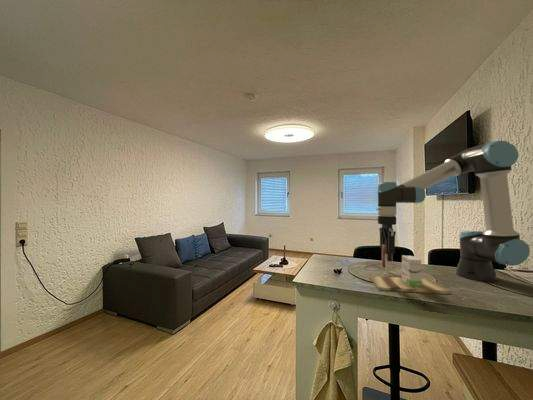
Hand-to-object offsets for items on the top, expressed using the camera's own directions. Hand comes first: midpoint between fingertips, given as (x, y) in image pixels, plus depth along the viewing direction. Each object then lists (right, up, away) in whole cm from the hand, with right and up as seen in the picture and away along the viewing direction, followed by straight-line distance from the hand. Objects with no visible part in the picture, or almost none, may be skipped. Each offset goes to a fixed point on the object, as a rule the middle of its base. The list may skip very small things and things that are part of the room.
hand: (386, 266), depth 104 cm
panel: (+8, -8, -1) cm, 12 cm away
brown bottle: (0, 0, 0) cm, 0 cm away
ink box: (+10, -7, -2) cm, 13 cm away
